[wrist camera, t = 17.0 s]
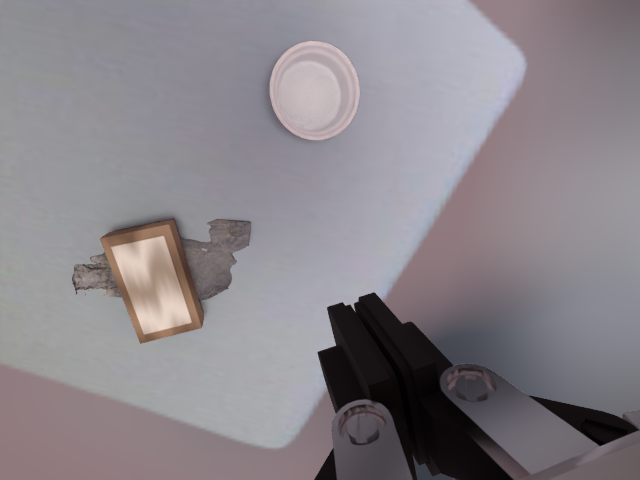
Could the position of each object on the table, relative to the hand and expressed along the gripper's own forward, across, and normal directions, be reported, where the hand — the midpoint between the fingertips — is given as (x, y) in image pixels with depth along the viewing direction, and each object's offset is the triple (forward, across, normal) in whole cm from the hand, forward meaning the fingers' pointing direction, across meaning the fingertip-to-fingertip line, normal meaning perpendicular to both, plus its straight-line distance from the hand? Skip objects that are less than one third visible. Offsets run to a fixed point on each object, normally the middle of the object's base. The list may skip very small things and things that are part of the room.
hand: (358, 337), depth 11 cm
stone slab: (+30, +14, +3) cm, 33 cm away
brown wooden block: (+27, +12, +5) cm, 30 cm away
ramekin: (+30, -6, -10) cm, 32 cm away
